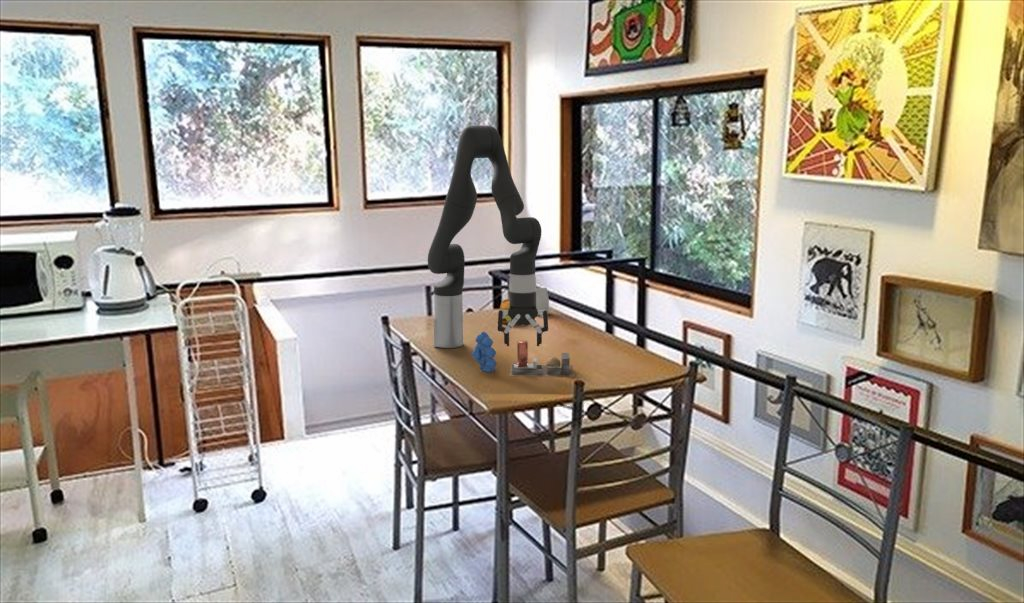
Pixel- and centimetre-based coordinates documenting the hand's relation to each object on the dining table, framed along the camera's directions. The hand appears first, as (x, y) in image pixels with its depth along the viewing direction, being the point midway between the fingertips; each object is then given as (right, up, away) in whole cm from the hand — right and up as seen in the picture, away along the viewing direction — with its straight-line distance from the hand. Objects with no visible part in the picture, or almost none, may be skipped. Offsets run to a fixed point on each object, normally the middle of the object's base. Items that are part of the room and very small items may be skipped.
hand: (523, 345), depth 215 cm
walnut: (+9, -7, +2) cm, 11 cm away
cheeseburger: (-3, +5, +67) cm, 67 cm away
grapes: (-12, -8, +4) cm, 15 cm away
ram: (+1, -7, +2) cm, 7 cm away
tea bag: (+7, +8, +80) cm, 81 cm away
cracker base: (+5, -9, +2) cm, 10 cm away
